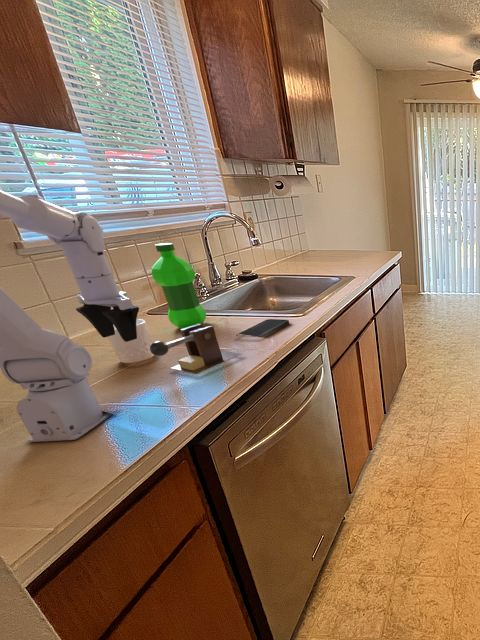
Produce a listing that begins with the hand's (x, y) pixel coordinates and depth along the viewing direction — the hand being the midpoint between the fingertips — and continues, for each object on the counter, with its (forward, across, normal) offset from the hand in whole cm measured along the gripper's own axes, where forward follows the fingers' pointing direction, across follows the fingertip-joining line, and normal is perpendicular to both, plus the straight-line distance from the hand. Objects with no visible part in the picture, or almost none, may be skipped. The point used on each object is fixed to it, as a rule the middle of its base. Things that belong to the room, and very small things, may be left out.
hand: (119, 338), depth 86 cm
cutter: (+4, -8, -7) cm, 11 cm away
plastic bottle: (+11, +25, -30) cm, 41 cm away
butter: (+9, -8, -8) cm, 14 cm away
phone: (+10, -1, -34) cm, 36 cm away
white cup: (+11, +11, -7) cm, 17 cm away
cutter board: (+10, -8, -11) cm, 17 cm away
